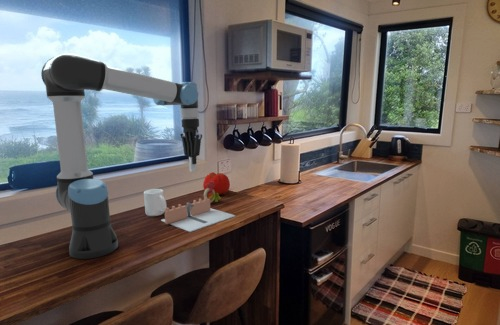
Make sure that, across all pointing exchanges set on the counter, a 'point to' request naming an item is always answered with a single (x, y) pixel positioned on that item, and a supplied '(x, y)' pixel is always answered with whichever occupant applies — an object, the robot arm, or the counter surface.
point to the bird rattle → (211, 192)
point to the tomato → (218, 182)
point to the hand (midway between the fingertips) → (193, 171)
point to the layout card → (201, 220)
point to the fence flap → (200, 206)
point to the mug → (154, 202)
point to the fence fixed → (177, 213)
